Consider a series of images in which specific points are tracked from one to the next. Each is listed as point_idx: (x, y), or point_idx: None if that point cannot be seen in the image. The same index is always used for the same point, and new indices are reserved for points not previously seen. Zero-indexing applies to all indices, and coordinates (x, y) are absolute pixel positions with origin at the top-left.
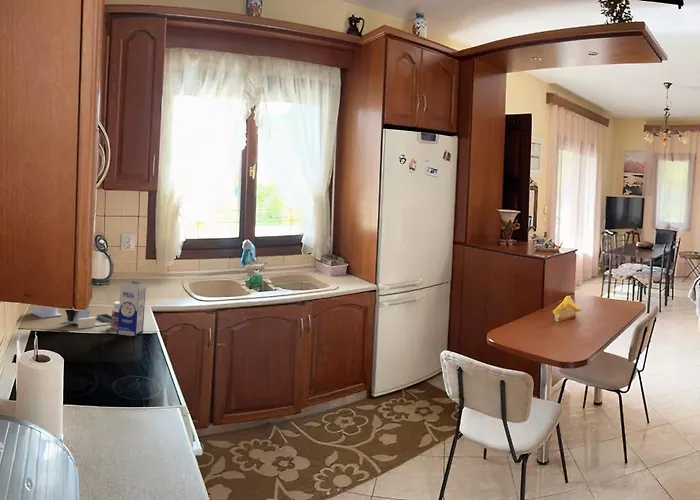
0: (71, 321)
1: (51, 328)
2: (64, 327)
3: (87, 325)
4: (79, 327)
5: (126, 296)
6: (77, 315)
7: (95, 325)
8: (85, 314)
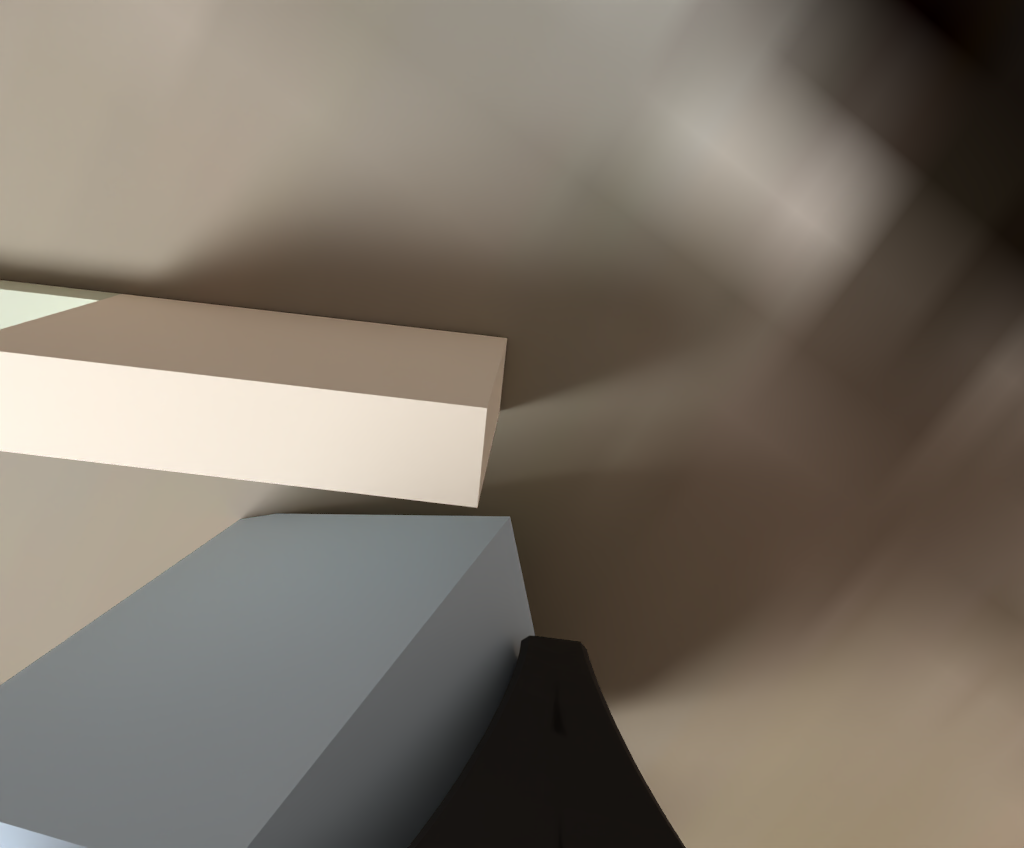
0: None
1: (949, 657)
2: (700, 589)
3: (290, 327)
4: (505, 341)
5: None
6: (410, 680)
7: (90, 298)
8: (120, 681)
